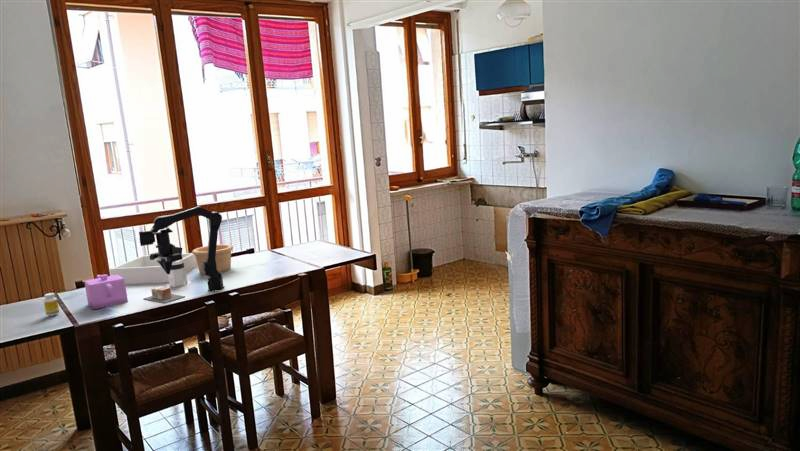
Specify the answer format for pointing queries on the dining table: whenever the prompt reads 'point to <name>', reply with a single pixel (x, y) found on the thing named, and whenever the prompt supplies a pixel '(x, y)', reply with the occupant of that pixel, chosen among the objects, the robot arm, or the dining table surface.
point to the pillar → (161, 292)
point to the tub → (149, 269)
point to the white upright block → (177, 274)
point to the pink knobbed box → (105, 291)
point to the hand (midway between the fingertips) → (168, 274)
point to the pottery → (221, 257)
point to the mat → (172, 298)
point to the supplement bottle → (51, 304)
